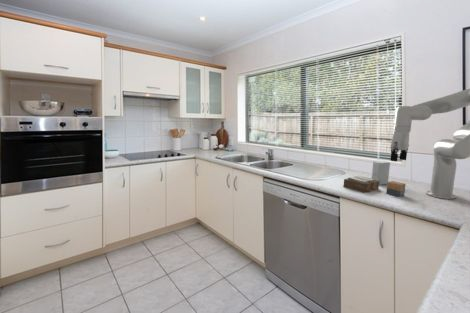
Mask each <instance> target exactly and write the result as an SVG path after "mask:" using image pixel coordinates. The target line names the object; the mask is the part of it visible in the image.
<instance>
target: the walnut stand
mask: <svg viewBox="0 0 470 313" xmlns="http://www.w3.org/2000/svg"><path fill="white" fill-rule="evenodd" d="M343 188H346V189H350V190H353V191H354V190H355V191H357V192H361V193H369V192H372V191H377V190H379V188H380V185H379V181H376V179H372V177H371V178H370V177H366V176H361V175H355V176H349V177H347V178H344V179H343Z"/></svg>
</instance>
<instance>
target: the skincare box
mask: <svg viewBox="0 0 470 313" xmlns="http://www.w3.org/2000/svg"><path fill="white" fill-rule="evenodd" d="M390 167H391V162H389V161H386V160H379V161H378V160H377V161H375V160H374V161H373V162H372V172H371V179H376V181H379V186H381V185H387V183H388V182H389V176H390Z"/></svg>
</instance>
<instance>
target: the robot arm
mask: <svg viewBox="0 0 470 313" xmlns="http://www.w3.org/2000/svg"><path fill="white" fill-rule="evenodd" d="M468 106H470V88H468V89H467V88H466V89H463V90H461V91H458V92H455V93H454V92H453V93H451V94H448V95H445V96H442V97H439V98H435V99H432V100H428V101H425V102H422V103H421V102H420V103H418V104H414V105H412V106H409V105H400V106H397V107H396V108H395V109H396V110H395V118H394V126H393V133H392V137H391V142H390V146H389V149H390V161H392V162H398V159H399V160H401V161H407V158H408V157H407V156H408V150H409V146H410V143H409V142H410V133H411V129H412V121H425V120H428V119H430V118H431V117H432V115H436V114H437V115H438V114H443V113H445V114H446V113H450V112H453V111H456V110H459V109H463V108H465V107H468ZM399 151H400V153H399ZM398 153H399V154H398ZM398 155H399V156H398ZM398 157H399V158H398ZM469 157H470V120H469V121H468V122H467V123H466V124H464V125H462V126H461V127H460V128H458V129H457V130H456V131H455V132H454V133H453V135H452V139H451V138H449V139H448V138H444V139H439V140H438V141H436V143H435V144H434V145H433V167H432V176H431V181H430V189H429V190H427V191H426V195H428V196H430V197H433V198H438V199H445V200H455V199H456V197H457V196H456V194H453V192H454V185H455V184H454V183H455V178H456V172H457V160H464V159H468V158H469Z"/></svg>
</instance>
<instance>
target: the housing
mask: <svg viewBox="0 0 470 313" xmlns="http://www.w3.org/2000/svg"><path fill="white" fill-rule="evenodd" d="M405 191H406V183H404V182H399V181H395V180H390V181H388V183H387V184H386V195H390V196H394V197H397V198H401V197H404V196H405Z"/></svg>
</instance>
